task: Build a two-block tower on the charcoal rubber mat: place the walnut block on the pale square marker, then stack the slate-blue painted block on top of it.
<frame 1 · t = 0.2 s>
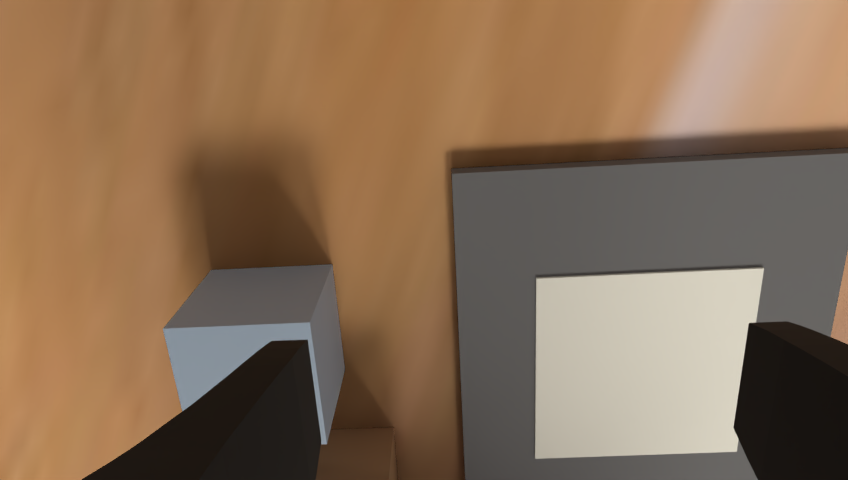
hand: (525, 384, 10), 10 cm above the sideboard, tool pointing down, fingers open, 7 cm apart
blue block: (280, 320, 21), on the sideboard
mat: (635, 358, 22), on the sideboard
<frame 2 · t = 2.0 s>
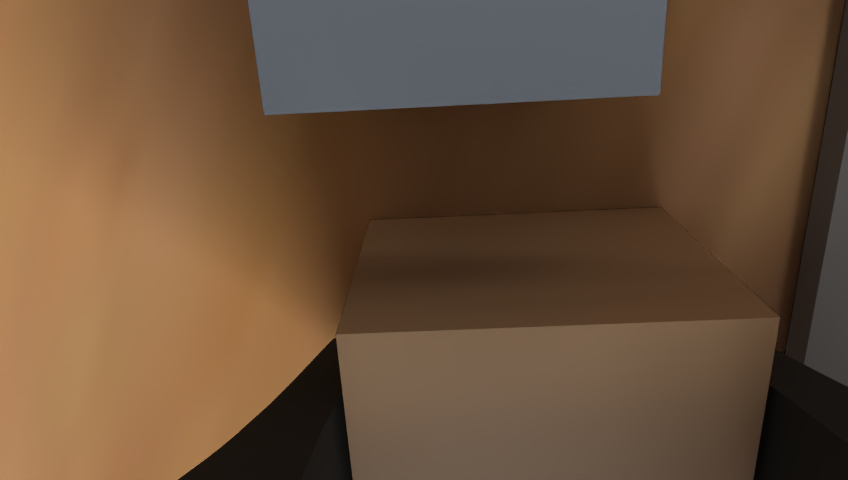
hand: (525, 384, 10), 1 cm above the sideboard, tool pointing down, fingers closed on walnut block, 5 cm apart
walnut block: (514, 340, 12), on the sideboard, touching gripper
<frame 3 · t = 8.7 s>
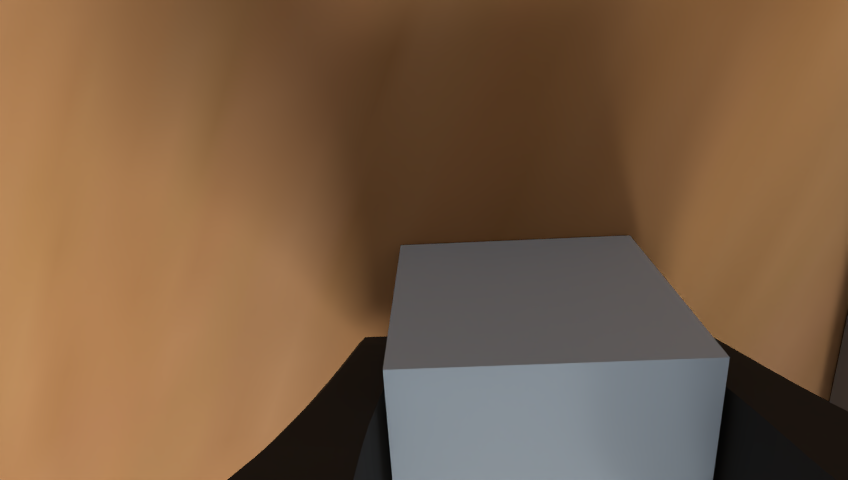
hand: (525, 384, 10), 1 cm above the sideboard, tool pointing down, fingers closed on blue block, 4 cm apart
blue block: (514, 340, 12), on the sideboard, touching gripper
when the fingers open (7 cm above the sideboard, at t = 11.2 s): blue block stays where it is, resting on walnut block.
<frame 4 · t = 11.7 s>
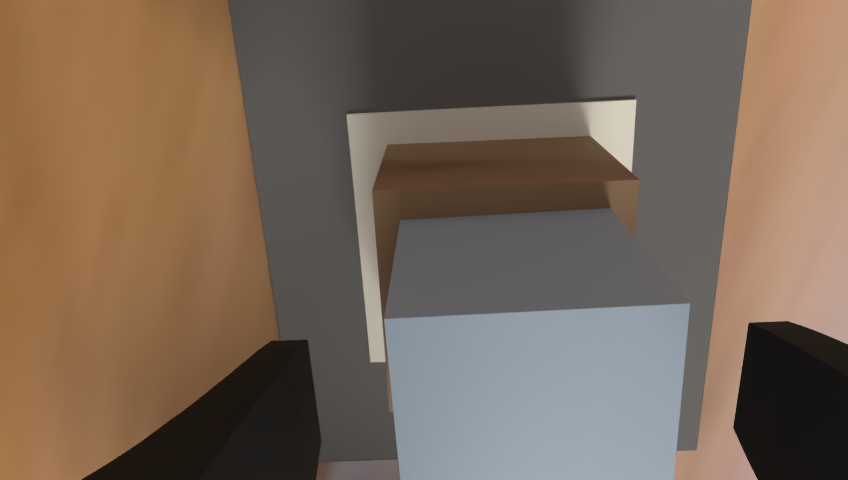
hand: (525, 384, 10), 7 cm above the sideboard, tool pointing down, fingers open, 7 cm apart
walnut block: (489, 235, 16), point 1 cm above the sideboard, touching blue block, mat
blue block: (506, 307, 13), point 5 cm above the sideboard, touching walnut block
mat: (490, 232, 17), on the sideboard
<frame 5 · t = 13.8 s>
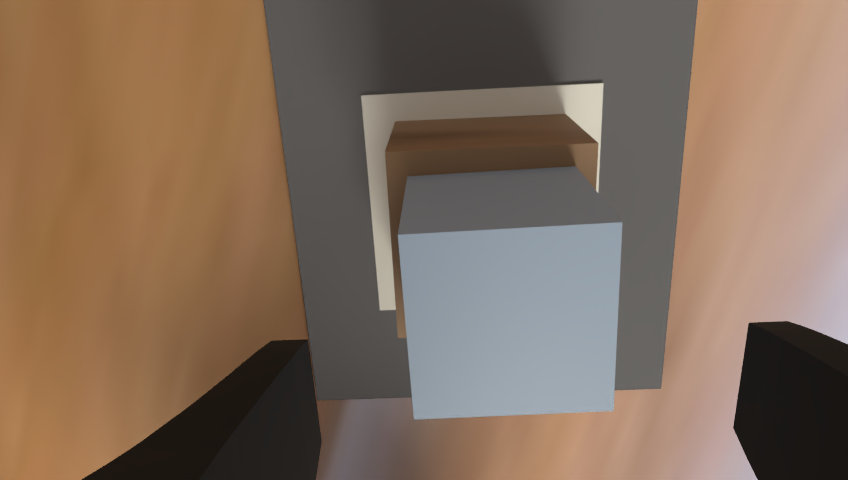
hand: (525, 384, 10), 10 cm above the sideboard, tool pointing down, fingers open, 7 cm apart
walnut block: (481, 198, 19), point 1 cm above the sideboard, touching blue block, mat
blue block: (493, 249, 16), point 5 cm above the sideboard, touching walnut block
mat: (482, 198, 20), on the sideboard
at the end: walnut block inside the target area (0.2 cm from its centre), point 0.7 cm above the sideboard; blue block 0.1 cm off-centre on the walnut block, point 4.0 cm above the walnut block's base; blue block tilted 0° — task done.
